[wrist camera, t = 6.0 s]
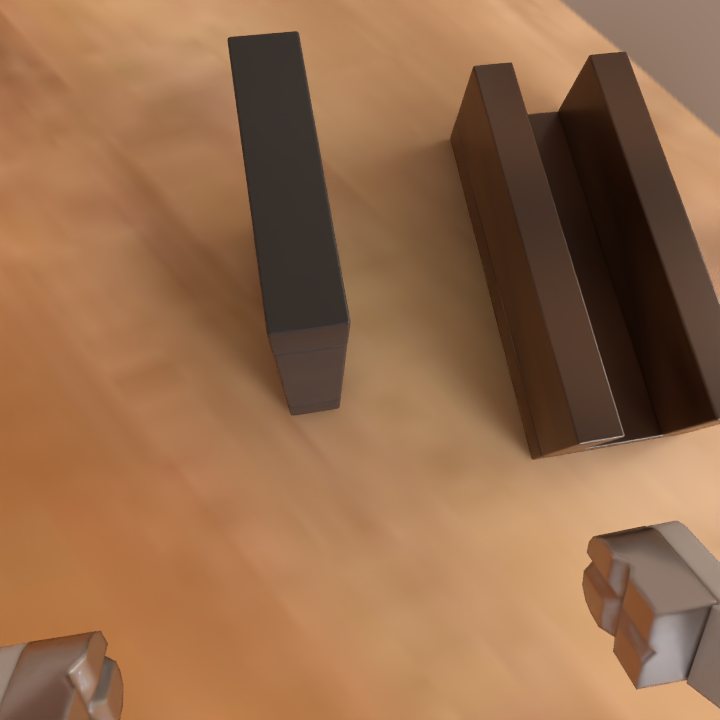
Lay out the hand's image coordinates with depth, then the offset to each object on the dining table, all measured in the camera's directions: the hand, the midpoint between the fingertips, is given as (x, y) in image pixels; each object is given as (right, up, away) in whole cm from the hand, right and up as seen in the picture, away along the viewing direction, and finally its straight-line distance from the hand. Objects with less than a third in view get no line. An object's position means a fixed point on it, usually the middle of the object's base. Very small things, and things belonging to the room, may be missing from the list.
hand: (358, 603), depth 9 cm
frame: (-2, +6, +12) cm, 14 cm away
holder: (+8, +7, +13) cm, 17 cm away
